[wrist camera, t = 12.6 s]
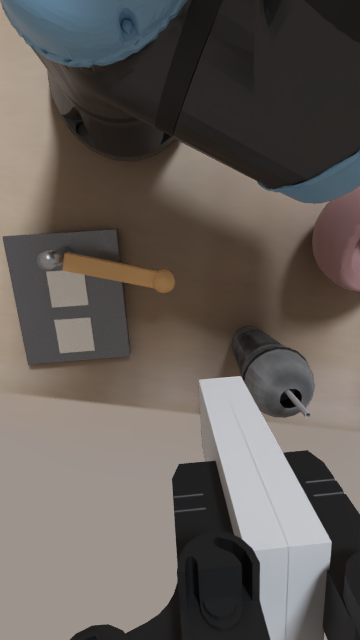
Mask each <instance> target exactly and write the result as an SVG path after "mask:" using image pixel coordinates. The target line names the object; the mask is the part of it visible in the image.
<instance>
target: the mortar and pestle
mask: <svg viewBox="0 0 360 640" xmlns="http://www.w3.org/2000/svg"><path fill="white" fill-rule="evenodd" d="M312 248H313V254H314V257H315V260H316V262H317V265H318V266H319V268H320V270H321V271H322V272H323V273H324V275H325V276H326V277H327V278H329V279H330V280H331V281H332V282H334V283H335V284H337V285H338V286H340V287H342V288H344V289H347V290H350V291H355V292H360V186H359V187H358V188H356V189H355V190H353V191H351V192H350V193H348V194H346V195H344V196H342V197H339V198H337V199H334V200H332V201H330V202H329V203H328V204H327V205H326V206H325V208H324V209H323V210H322V212H321V214H320V215H319V217H318V219H317V221H316V224H315V227H314V231H313V237H312Z"/></svg>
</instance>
